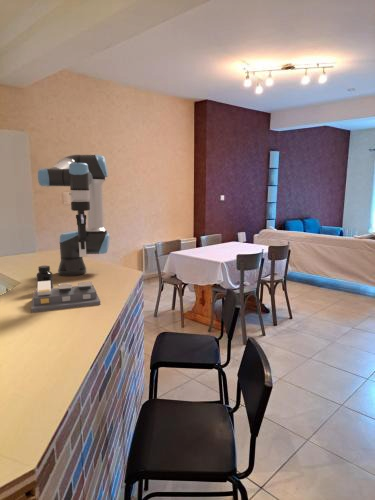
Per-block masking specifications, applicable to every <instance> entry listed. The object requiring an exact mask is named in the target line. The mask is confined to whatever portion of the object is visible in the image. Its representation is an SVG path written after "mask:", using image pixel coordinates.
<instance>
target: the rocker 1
mask: <svg viewBox="0 0 375 500" xmlns="http://www.w3.org/2000/svg"><path fill="white" fill-rule="evenodd" d="M49 294H51V281H39V282H38V296H39V295H49Z"/></svg>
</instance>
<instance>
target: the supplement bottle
mask: <svg viewBox="0 0 375 500" xmlns="http://www.w3.org/2000/svg"><path fill="white" fill-rule="evenodd" d="M37 269H38V272H37V273H36V275H35V277H36V290H38V282H39V281H51V289H52V288H54V280H53V279H54V278H53V272H52V271H51V268H50V265H40V266H39V265H38V267H37Z"/></svg>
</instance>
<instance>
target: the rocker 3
mask: <svg viewBox="0 0 375 500" xmlns="http://www.w3.org/2000/svg"><path fill="white" fill-rule="evenodd" d="M91 285H93V281H80V282H77V286H78V287H81V286H91Z"/></svg>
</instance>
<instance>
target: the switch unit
mask: <svg viewBox="0 0 375 500" xmlns="http://www.w3.org/2000/svg"><path fill="white" fill-rule="evenodd" d="M96 290H97V289H96V288H95V286H94V284H92V285H91V286H81V287H78V285H77V286H74V285H72V288H65V289H59V287H53V288H52V289H51V294H49V295H39V296H38V290H37V289H34V293H33V296H32V298H31V304H30V305H31V306H30V312H31V313H37V312H38V313H39V312H47V311H48V312H49V311H56V310H64V309H75V308H81V307H91V306H92V307H93V306H101V299H100V298H99V295H98V293H97V291H96Z"/></svg>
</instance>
